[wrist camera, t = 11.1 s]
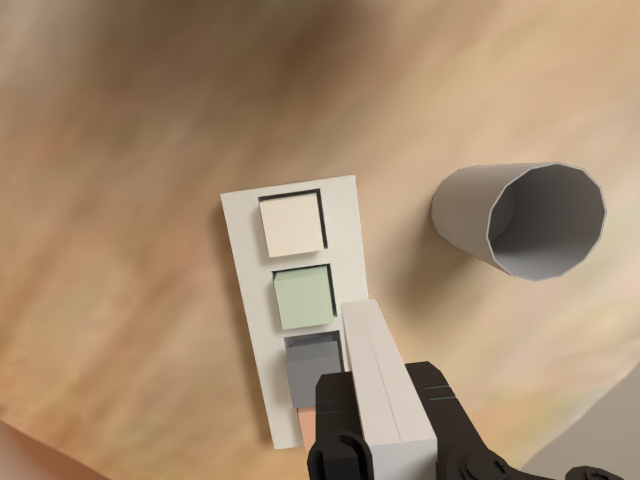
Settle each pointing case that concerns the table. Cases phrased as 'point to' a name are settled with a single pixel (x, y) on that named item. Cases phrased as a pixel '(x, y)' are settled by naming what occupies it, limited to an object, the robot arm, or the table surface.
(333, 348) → the key charcoal
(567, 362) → the table surface
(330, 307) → the key sage
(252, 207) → the keypad
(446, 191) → the cup
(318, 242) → the key cream
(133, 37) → the table surface
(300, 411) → the key terracotta
